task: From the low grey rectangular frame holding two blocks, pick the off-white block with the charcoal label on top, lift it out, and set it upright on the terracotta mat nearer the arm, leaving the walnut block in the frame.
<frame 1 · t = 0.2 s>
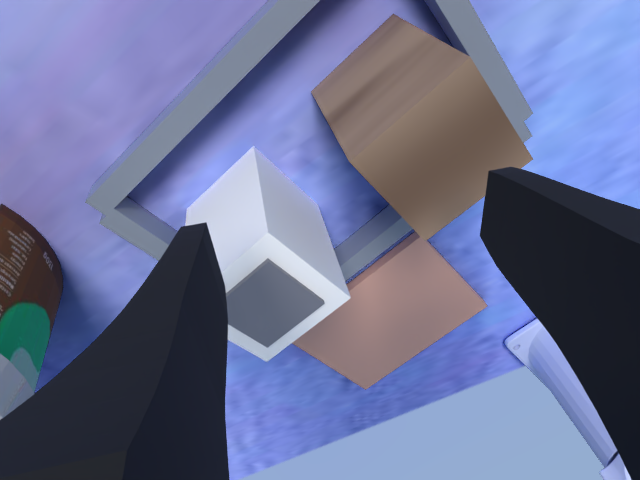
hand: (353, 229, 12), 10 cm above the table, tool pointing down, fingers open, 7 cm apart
terracotta mat: (386, 315, 29), on the table
walnut block: (381, 92, 20), resting in grey rectangular frame
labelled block: (254, 206, 23), resting in grey rectangular frame
food container: (13, 296, 23), on the table
grey rectangular frame: (314, 153, 21), on the table
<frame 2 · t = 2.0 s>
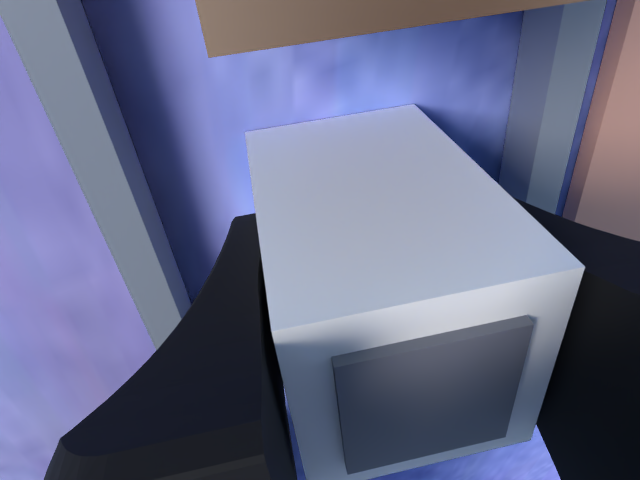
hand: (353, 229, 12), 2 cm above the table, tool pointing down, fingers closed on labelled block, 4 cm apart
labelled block: (337, 192, 13), resting in grey rectangular frame, touching gripper
grey rectangular frame: (324, 47, 11), on the table
when the fingers open (3 cm above the table, at t = 7.5 s): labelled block stays where it is, resting on terracotta mat.
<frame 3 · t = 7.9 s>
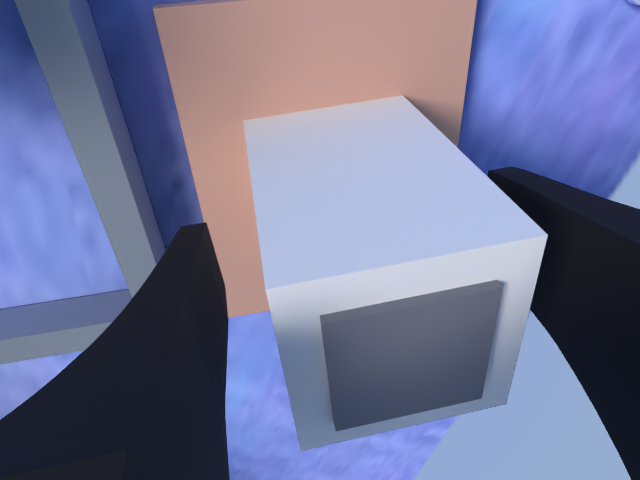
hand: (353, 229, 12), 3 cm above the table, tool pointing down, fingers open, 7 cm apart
terracotta mat: (327, 169, 14), on the table
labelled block: (330, 179, 14), point 1 cm above the table, touching terracotta mat
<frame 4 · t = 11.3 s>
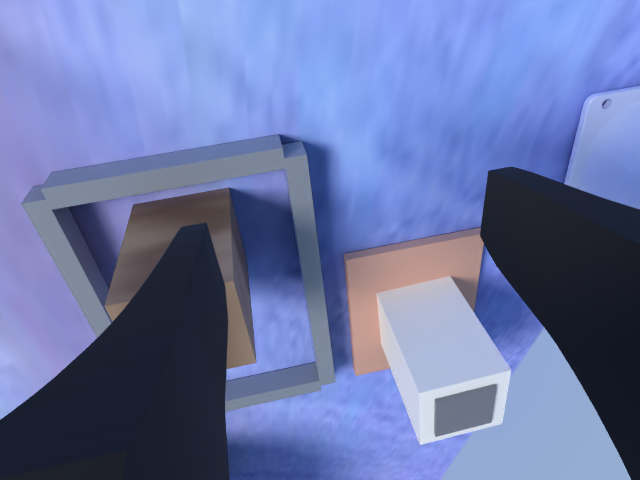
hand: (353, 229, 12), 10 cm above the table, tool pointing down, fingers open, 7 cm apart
terracotta mat: (411, 304, 29), on the table
walnut block: (193, 234, 23), resting in grey rectangular frame
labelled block: (414, 311, 28), point 1 cm above the table, touching terracotta mat
grey rectangular frame: (212, 293, 25), on the table
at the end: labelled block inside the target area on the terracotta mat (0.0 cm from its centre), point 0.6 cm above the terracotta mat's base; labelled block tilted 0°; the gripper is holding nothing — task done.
